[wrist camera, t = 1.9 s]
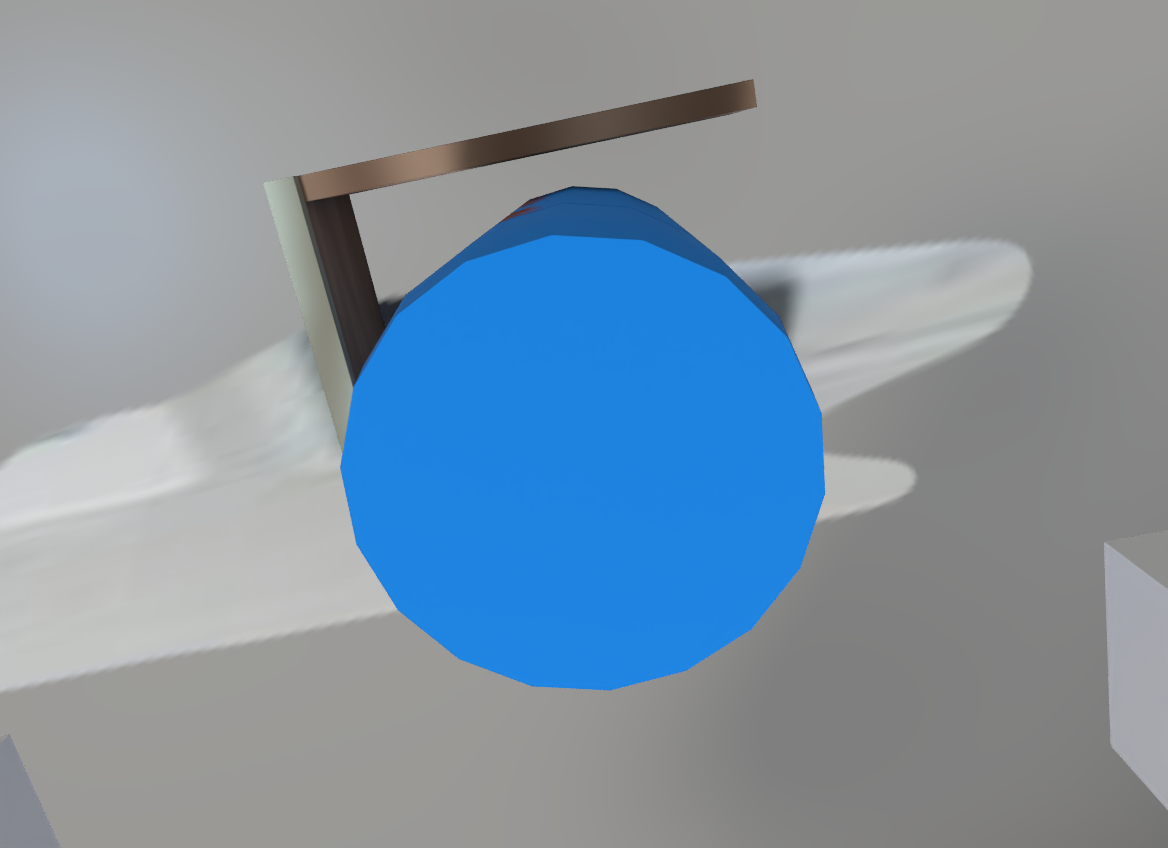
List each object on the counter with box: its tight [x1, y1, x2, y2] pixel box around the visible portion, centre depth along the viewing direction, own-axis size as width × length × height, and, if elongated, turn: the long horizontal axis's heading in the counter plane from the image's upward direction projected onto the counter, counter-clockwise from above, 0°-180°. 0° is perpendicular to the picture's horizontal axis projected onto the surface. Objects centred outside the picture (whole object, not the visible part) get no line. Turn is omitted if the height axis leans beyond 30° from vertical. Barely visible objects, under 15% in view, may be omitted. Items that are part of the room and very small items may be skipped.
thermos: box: [340, 186, 825, 690], centre depth 31 cm, size 11×11×25 cm
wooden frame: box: [263, 79, 757, 453], centre depth 40 cm, size 19×16×8 cm
